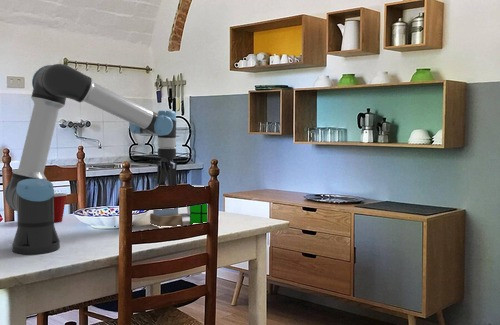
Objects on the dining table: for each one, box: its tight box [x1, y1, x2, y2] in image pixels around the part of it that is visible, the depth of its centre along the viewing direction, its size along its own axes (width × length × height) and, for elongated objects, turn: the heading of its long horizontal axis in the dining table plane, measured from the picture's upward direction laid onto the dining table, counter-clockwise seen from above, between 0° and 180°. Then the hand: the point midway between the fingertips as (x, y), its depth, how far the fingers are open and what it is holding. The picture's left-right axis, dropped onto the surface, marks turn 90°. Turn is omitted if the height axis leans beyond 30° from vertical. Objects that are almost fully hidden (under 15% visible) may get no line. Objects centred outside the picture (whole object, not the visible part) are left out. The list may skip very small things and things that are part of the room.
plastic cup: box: [54, 192, 68, 224], centre depth 237 cm, size 11×11×12 cm
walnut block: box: [149, 212, 183, 227], centre depth 233 cm, size 10×10×5 cm
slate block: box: [152, 207, 179, 216], centre depth 233 cm, size 9×5×4 cm, turn 122°
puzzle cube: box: [189, 204, 207, 225], centre depth 240 cm, size 10×10×10 cm
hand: (166, 202), depth 233 cm, fingers closed on maple block, 7 cm apart
